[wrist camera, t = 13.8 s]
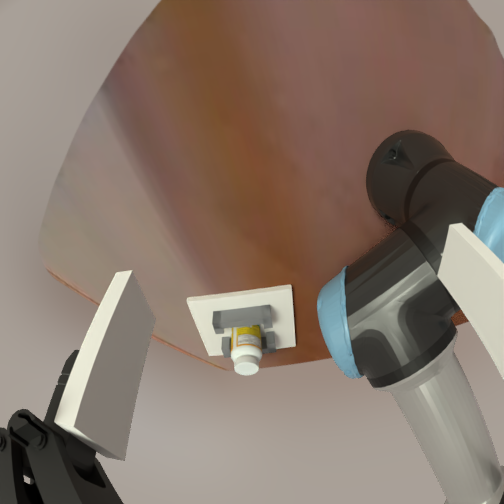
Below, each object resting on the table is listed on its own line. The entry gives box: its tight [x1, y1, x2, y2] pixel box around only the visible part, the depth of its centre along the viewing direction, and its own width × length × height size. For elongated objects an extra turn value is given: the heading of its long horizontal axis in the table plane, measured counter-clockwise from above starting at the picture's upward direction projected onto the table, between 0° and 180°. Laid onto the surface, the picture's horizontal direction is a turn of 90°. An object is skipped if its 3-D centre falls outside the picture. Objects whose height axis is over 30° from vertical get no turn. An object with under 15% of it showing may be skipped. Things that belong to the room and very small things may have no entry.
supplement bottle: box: [231, 325, 262, 375], centre depth 48 cm, size 5×5×10 cm
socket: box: [187, 284, 296, 358], centre depth 51 cm, size 18×16×4 cm
